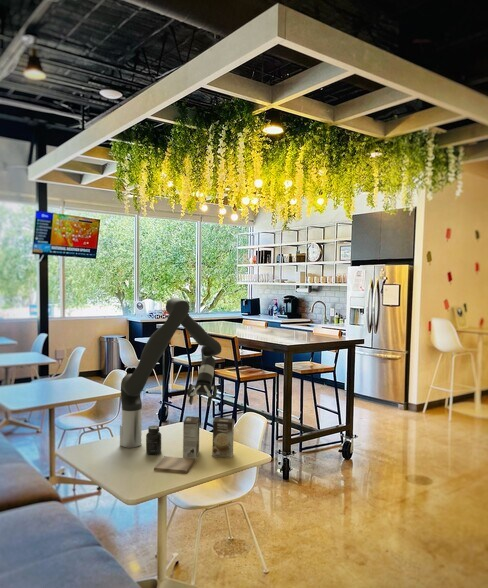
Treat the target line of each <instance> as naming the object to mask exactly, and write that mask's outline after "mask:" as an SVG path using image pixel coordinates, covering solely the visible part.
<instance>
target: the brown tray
mask: <svg viewBox="0 0 488 588" xmlns="http://www.w3.org/2000/svg"><path fill="white" fill-rule="evenodd" d="M195 462H196V458H183V457H178V456H167V455H166V456H165V455H164V456H163V457H162V458H161V459H160V460H159V462H158V463H157V464H156V465H155V466H154V467H153V471H155V472H164V473H165V472H166V473H177V474H187V473H189V471H190V470H191V468H192V467H193V465H194V464H195Z"/></svg>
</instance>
